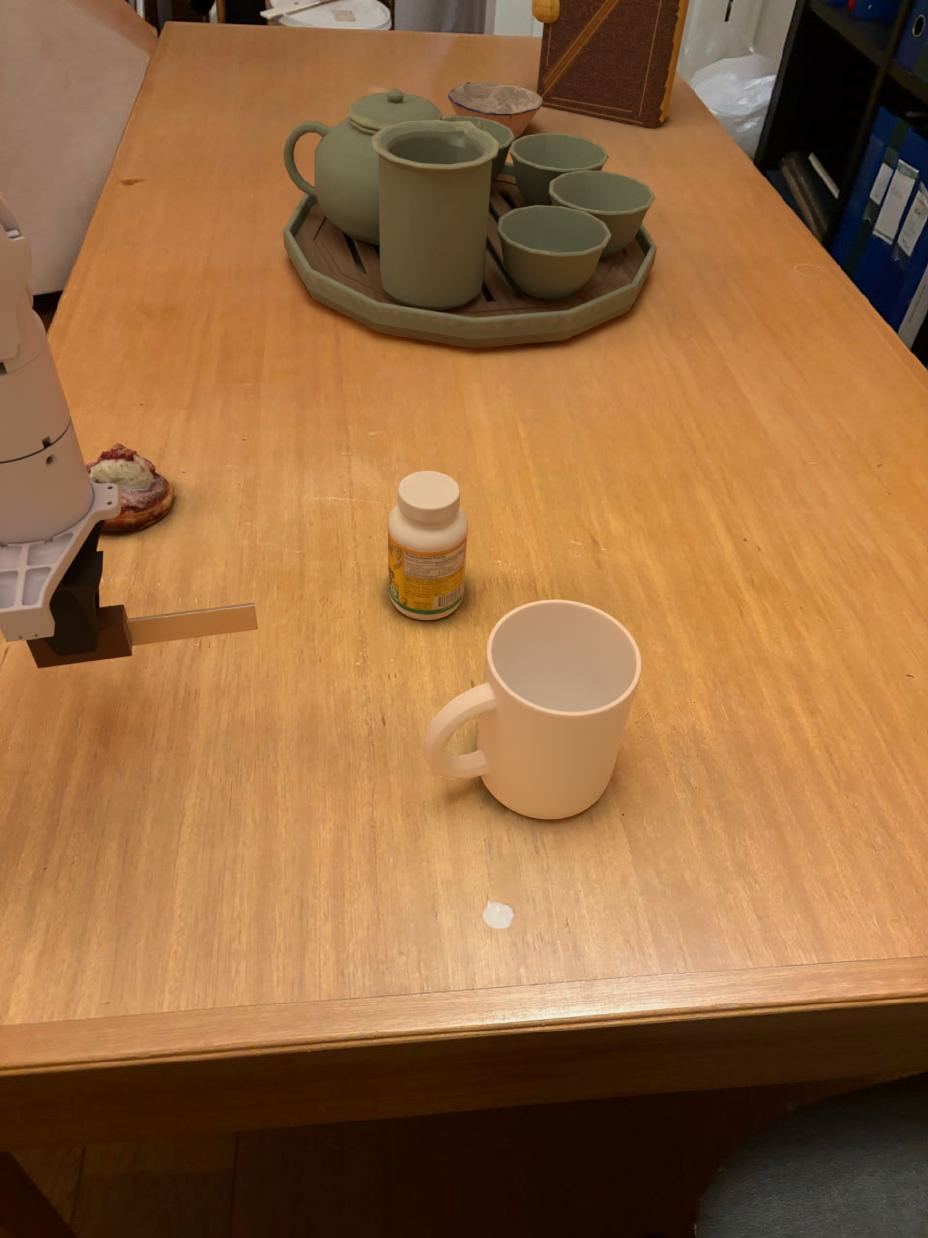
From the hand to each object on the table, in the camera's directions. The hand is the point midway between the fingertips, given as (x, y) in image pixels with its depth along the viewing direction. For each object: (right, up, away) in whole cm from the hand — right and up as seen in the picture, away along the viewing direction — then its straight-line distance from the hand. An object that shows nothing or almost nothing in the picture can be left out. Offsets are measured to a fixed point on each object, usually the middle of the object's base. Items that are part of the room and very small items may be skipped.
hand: (78, 633), depth 51 cm
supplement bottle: (+18, +2, +15) cm, 24 cm away
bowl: (+25, +70, +80) cm, 109 cm away
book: (+41, +78, +89) cm, 125 cm away
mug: (+24, -9, +5) cm, 26 cm away
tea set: (+22, +41, +52) cm, 70 cm away
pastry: (-5, +9, +21) cm, 23 cm away
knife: (+3, 0, +2) cm, 4 cm away
